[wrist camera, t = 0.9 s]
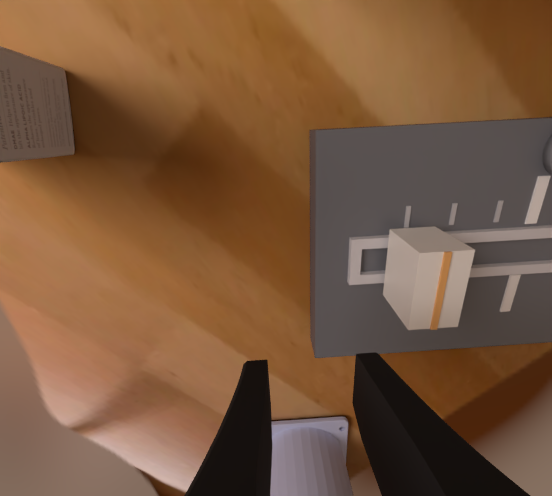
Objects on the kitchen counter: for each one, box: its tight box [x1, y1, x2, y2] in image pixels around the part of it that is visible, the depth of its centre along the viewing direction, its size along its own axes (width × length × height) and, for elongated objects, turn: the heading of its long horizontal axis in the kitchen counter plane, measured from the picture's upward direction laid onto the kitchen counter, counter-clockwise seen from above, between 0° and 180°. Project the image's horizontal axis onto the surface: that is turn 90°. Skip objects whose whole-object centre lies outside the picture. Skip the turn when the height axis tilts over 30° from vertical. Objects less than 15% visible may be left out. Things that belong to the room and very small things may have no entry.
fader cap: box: [383, 226, 475, 330], centre depth 15 cm, size 4×2×4 cm, turn 3°
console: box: [310, 117, 552, 358], centre depth 17 cm, size 14×16×3 cm
